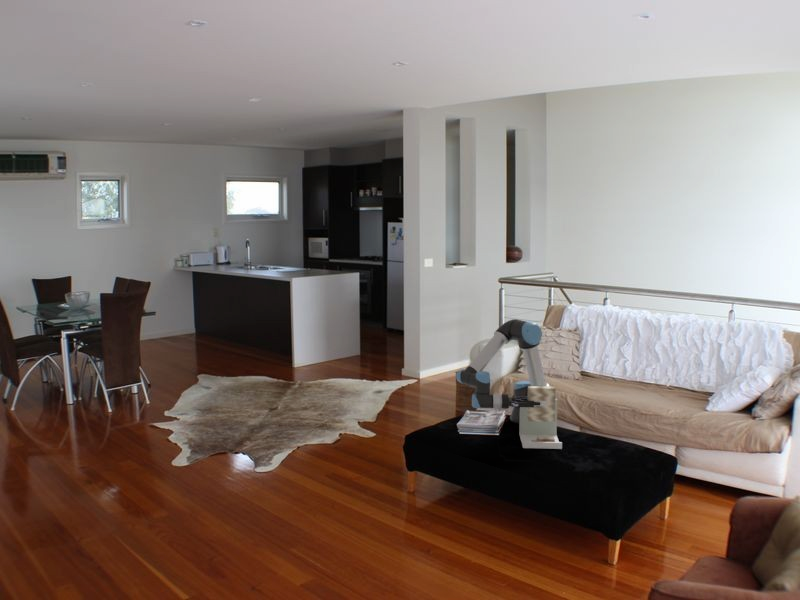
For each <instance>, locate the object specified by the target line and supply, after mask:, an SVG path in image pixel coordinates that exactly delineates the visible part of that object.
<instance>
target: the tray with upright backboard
mask: <svg viewBox="0 0 800 600" xmlns="http://www.w3.org/2000/svg"><path fill="white" fill-rule="evenodd" d="M558 401H559V400H558V398H556V399H555V422H545V421H528V420H527V407H520V424H519V426H518V427H519V428H518V429H519V431H518V432H519V437H520V441H521V446H522V448H523V449H546V450H547V449H549V450H551V449H553V450H554V449H555V450H562V449H563V442H562V441H559V438H558V434H557V430H558V429H557V428H558V405H559V404H558ZM537 437H554V439H555V442H536V440H537ZM532 440H535V441H532Z"/></svg>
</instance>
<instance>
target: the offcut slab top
mask: <svg viewBox="0 0 800 600" xmlns="http://www.w3.org/2000/svg"><path fill="white" fill-rule="evenodd" d="M536 441H537V442H555V439H554V437H537V440H536Z"/></svg>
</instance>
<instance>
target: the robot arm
mask: <svg viewBox="0 0 800 600" xmlns="http://www.w3.org/2000/svg"><path fill="white" fill-rule="evenodd" d="M542 337H543V331H542V328H541V326H540V325H539V324H537V323H535V322H532V321H526V320H521V319H515V318H513V319H510V320H507V321H506V322H504V323H503V324H501V325H500V326H499V327H498V328H497V329H496V330H495V331H494V332H493V336H492V337H491V339H490V340H489V341H487V343H486V344H485V346H484V347H483V348H482V349H481V351H479V352H478V354H476V356H475V357H474V358H473V360H471V362H470V363H469V364H468V365H467V366H466V368H463V369H462V368H461V369H459V370H458V371H457V372H456V375H455V379H456V381H457V382H458V383H460V384H462V385H466V386H469V387H472V388H475V393H472V394H471V406H472V408H474V409H476V408H477V409H495V410H497V409H502V410H503V409H504V410H505V409H507V410H508V409H509V408H510V406H512V407H513V408H512V410H511V414H510V416H509V417H510V418H509V419H510V421H511V422H512V423H516V424H519V425H520V407H533V408H534V406H547V401H528V386H550V384H549V382H546V378H545V373H544V368H543V364H542V359H541V355H540V352H539V351H540V350H539V345H540V343H541V341H542ZM511 341H517V343H518V344H517V345H518V348H519V349H521V350H522V354H523V359H524V361H525V367H526V371H527V375H528V380H520V381H516V382H515V383H514V384H513V385H514V386H513V395H512V396H511V397H510V395H509V393H508V394H507V393H506V394H505V393H502V394H501V393H491V373H490V372H489V371H484V369H486V367H487V366H488V364H489V363H490V362H491V361H492V360H493V359H494V357H495V356H496V355H497V354H498V353H499V352H500V350H501V349H502V348H503V347H504V345H508V344H509V342H511ZM555 399H557V395H555Z"/></svg>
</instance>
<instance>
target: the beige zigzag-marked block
mask: <svg viewBox="0 0 800 600" xmlns="http://www.w3.org/2000/svg"><path fill="white" fill-rule="evenodd" d="M556 391H557V389H556V387H555V385H554V386H551V385H549V386H528V401H547V406H534V408H533V407H527V420H528V421H545V422H555V395H556ZM556 396H557V395H556Z"/></svg>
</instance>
